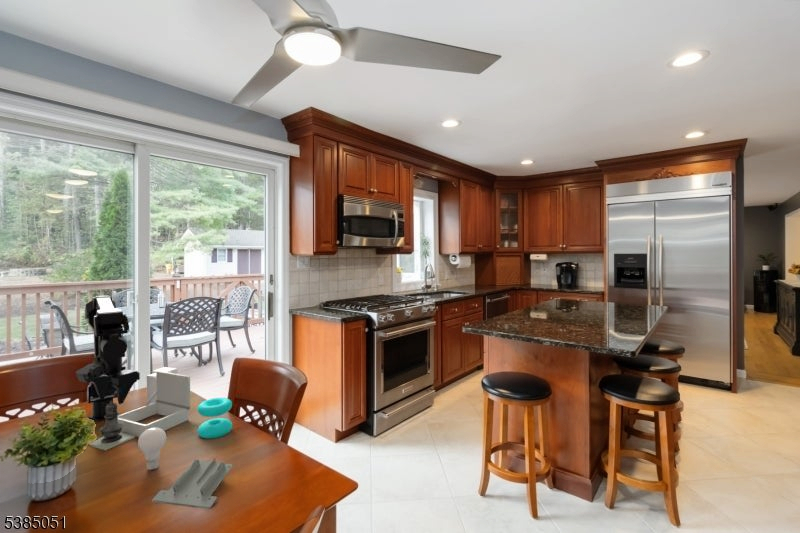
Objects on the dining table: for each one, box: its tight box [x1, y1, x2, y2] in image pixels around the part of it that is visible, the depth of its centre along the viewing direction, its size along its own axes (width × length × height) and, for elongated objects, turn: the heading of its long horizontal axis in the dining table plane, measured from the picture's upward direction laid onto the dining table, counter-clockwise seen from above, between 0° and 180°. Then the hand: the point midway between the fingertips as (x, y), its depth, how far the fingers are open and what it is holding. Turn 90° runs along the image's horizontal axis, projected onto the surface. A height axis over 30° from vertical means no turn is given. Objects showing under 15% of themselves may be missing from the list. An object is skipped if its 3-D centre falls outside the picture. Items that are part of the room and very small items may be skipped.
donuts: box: [197, 397, 233, 439], centre depth 123 cm, size 10×10×10 cm
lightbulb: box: [137, 427, 167, 471], centre depth 102 cm, size 6×6×11 cm
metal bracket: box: [151, 457, 234, 510], centre depth 94 cm, size 14×6×15 cm
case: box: [118, 371, 191, 438], centre depth 129 cm, size 16×16×15 cm
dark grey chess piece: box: [99, 400, 123, 443], centre depth 117 cm, size 6×6×12 cm
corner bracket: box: [146, 366, 178, 404], centre depth 148 cm, size 11×11×12 cm
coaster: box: [88, 432, 136, 451], centre depth 117 cm, size 8×8×1 cm
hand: (111, 401), depth 119 cm, fingers open, 9 cm apart
